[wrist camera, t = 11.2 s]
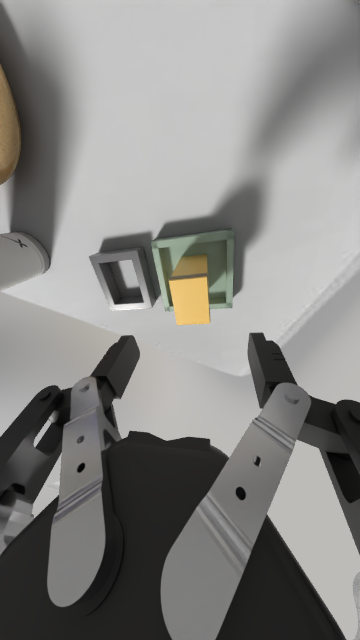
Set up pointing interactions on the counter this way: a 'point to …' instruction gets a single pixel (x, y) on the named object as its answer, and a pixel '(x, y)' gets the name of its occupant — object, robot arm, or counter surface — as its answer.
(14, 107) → the plant saucer
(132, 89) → the counter surface
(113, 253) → the frame
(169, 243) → the parts tray
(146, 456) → the robot arm
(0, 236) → the travel mug
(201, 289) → the block
